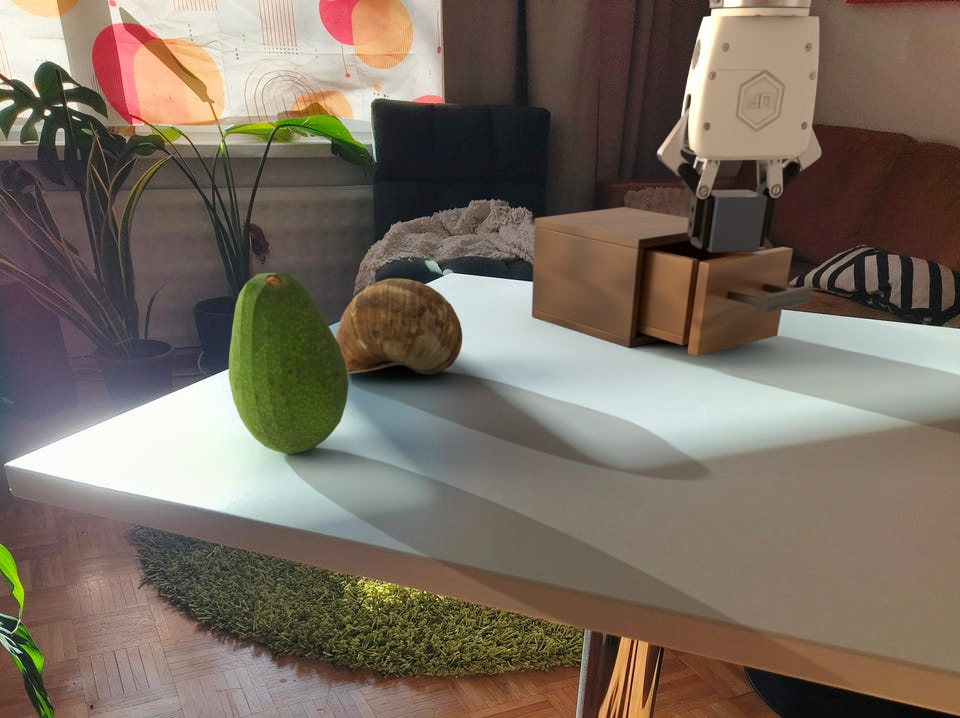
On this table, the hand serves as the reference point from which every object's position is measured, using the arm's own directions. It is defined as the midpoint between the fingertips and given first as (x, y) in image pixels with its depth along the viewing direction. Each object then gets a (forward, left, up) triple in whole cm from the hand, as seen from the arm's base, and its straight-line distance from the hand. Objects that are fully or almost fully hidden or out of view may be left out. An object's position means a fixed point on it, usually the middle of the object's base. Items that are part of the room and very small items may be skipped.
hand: (726, 243), depth 80 cm
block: (0, 0, 0) cm, 0 cm away
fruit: (+38, +22, -10) cm, 45 cm away
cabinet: (+6, -10, -9) cm, 15 cm away
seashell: (+30, +5, -10) cm, 32 cm away
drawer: (+1, -1, -8) cm, 9 cm away
